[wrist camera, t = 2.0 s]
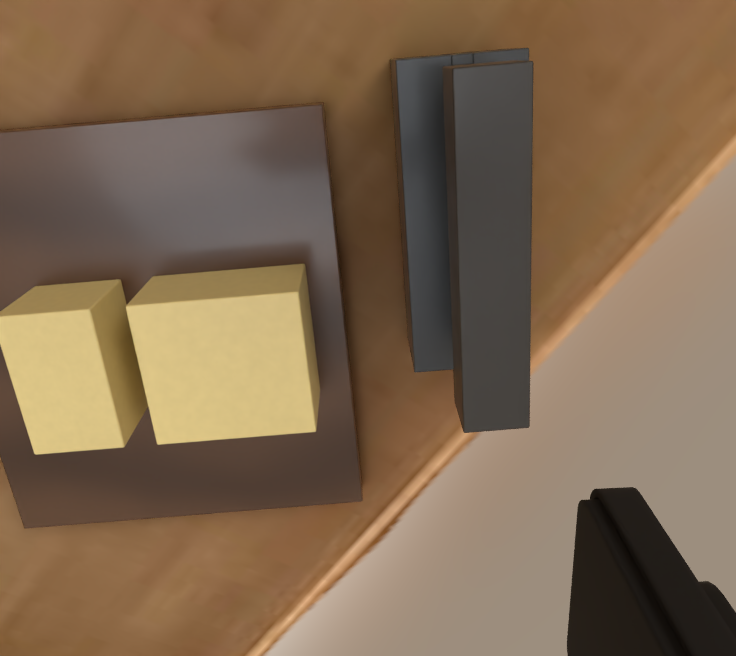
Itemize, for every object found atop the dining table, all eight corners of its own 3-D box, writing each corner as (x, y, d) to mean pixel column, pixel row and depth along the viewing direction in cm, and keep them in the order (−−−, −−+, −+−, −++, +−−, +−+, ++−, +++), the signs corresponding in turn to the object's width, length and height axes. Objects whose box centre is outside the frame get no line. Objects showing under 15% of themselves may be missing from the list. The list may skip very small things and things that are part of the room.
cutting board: (-85, 137, 30) (-106, 141, 28) (323, 101, 29) (322, 104, 28) (36, 511, 37) (24, 528, 36) (362, 484, 37) (362, 501, 36)
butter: (151, 275, 31) (124, 306, 27) (305, 262, 31) (298, 291, 27) (178, 402, 33) (156, 445, 29) (320, 390, 33) (316, 432, 29)
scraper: (420, 64, 29) (451, 68, 20) (476, 59, 29) (533, 60, 20) (433, 330, 34) (463, 433, 24) (481, 326, 34) (530, 428, 24)
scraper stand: (389, 59, 29) (395, 59, 25) (506, 48, 29) (529, 47, 25) (407, 337, 34) (414, 372, 30) (507, 329, 34) (526, 363, 30)
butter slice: (34, 285, 31) (-10, 317, 27) (121, 278, 31) (89, 309, 27) (69, 410, 33) (33, 455, 29) (150, 404, 33) (124, 448, 29)
